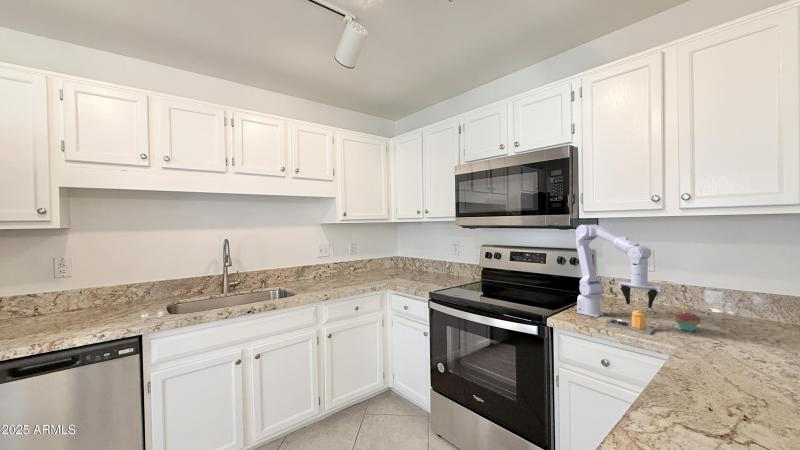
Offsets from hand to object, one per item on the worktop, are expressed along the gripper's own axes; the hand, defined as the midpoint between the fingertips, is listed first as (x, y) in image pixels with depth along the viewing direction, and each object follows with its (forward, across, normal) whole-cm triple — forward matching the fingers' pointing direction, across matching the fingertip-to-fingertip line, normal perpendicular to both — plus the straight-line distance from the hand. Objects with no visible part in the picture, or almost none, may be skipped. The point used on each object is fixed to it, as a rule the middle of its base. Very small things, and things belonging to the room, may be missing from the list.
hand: (638, 305), depth 135 cm
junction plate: (+10, +3, 0) cm, 10 cm away
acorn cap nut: (+9, 0, 0) cm, 9 cm away
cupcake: (+10, -13, -14) cm, 22 cm away
